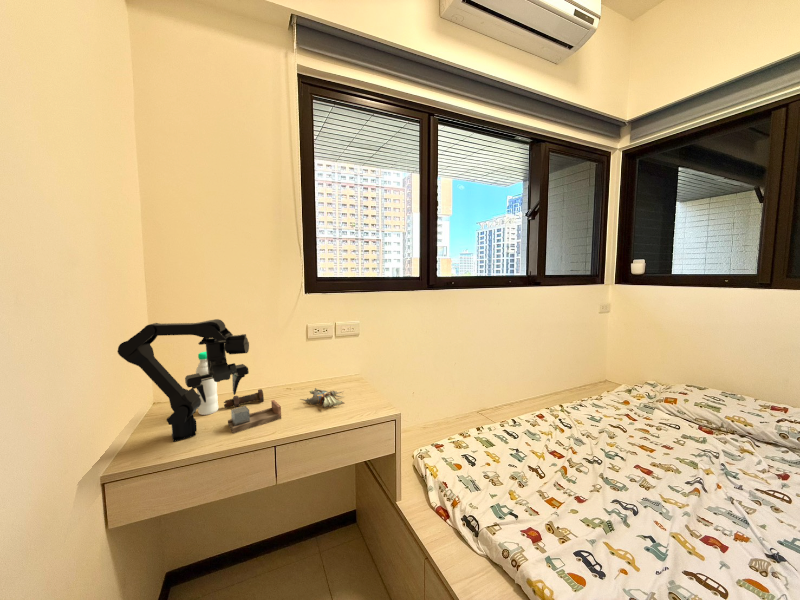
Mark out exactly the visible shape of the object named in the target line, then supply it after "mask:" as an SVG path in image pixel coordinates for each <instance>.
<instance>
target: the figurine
mask: <svg viewBox="0 0 800 600" xmlns="http://www.w3.org/2000/svg"><path fill="white" fill-rule="evenodd" d="M344 392H345V390H343V391H335V390H330V391H328V390H322V389H319V388H316V387H315V388H314V389H312V390H310V391H309V394H311V395H312V397H310V398H309V397H307V398H305V399H302V398H300V399H299V400H301V401H303V402H306V403H307V404H311V405H318V406H322V408H326V407H328V408H331V407H336V406H339V405H344V404H345V402H343V400H339V399H337V398H344V397H345V396H344V395H337V394H343V393H344Z"/></svg>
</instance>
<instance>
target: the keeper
mask: <svg viewBox="0 0 800 600" xmlns="http://www.w3.org/2000/svg"><path fill="white" fill-rule="evenodd" d="M230 411H231V412H230V414H231V416H230V417H231V419H232V423H233V425H234V426H238V425H241V424H244V423H248V422H250V414H251V412H250V409H249V408H248V407H247V405H244V406H239V407H236V408H235V407H234V408H233V409H230Z"/></svg>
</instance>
